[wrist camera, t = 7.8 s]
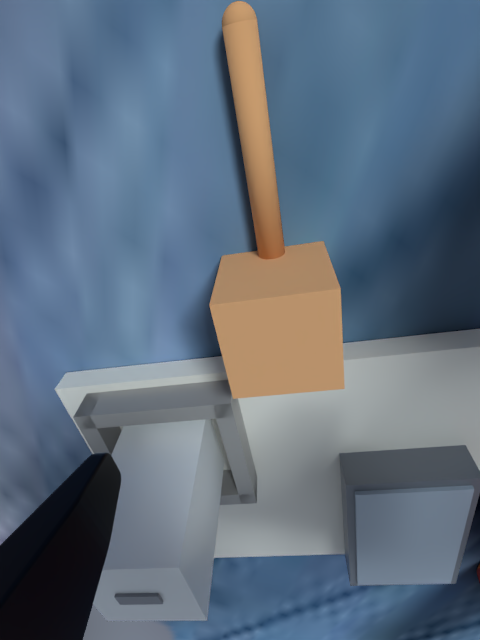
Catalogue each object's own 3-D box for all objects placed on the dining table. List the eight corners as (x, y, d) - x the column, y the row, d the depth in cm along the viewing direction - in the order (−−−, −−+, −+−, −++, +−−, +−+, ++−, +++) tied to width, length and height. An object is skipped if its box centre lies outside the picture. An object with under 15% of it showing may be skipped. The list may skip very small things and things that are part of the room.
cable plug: (307, -12, 11) (326, -56, 7) (328, 326, 16) (344, 388, 13) (171, 21, 11) (130, -6, 8) (239, 336, 17) (232, 398, 14)
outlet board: (497, 326, 16) (535, 367, 14) (452, 531, 24) (471, 577, 22) (66, 372, 19) (38, 412, 16) (158, 541, 27) (148, 583, 25)
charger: (207, 406, 18) (178, 571, 12) (224, 460, 20) (206, 624, 14) (128, 413, 18) (61, 574, 12) (153, 465, 20) (106, 624, 14)
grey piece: (465, 445, 18) (485, 482, 16) (443, 551, 23) (457, 587, 22) (339, 453, 19) (346, 489, 17) (344, 554, 24) (350, 589, 22)
